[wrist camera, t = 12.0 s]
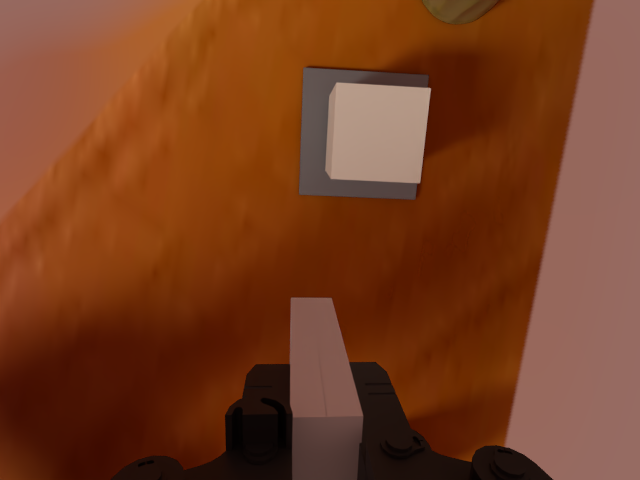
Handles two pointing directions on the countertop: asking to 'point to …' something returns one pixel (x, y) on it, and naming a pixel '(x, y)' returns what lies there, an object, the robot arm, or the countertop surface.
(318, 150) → the gray peg base
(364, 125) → the white rectangular block
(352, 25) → the countertop surface
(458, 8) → the vase
